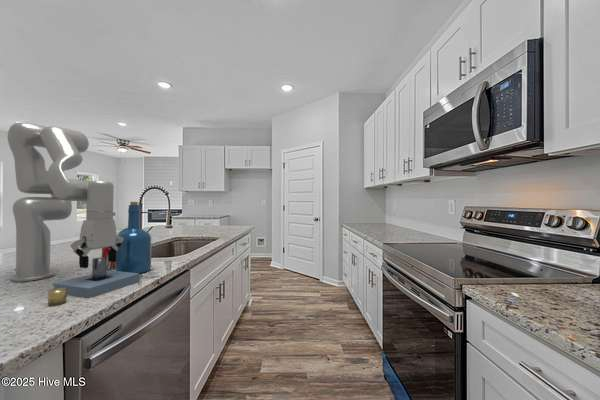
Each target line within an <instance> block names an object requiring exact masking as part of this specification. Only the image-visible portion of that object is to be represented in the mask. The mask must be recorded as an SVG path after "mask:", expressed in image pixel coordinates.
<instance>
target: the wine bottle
mask: <svg viewBox="0 0 600 400" xmlns="http://www.w3.org/2000/svg"><path fill="white" fill-rule="evenodd" d="M140 212H141V211H140V204H139V203H138V201H130V204H129V205H128V210H127V213H128V215H127V217H128V218H127V219H128V220H127V227H125V228H123V229H122V230H120V231H119V232H118V234H117V235H118V236H120V237H123V238H124V239H123V241H122V243H121V246H120V247H119V249H118V251H117V258H116V262H115V269H114V271H121V272H130V273H139V274H140V275H141V274H145V273H147V272H149V271H151V270H150V269H151V268H152V236H151V235H152V234H150V232H149V231H147V230H146V229H145V230H144V229H143V228H141V225H140V224H141V223H140V222H141V219H140ZM116 243H117V239H116ZM146 271H147V272H146Z"/></svg>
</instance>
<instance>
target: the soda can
mask: <svg viewBox="0 0 600 400" xmlns="http://www.w3.org/2000/svg"><path fill="white" fill-rule="evenodd" d="M109 250H110V249H109V248H108V247H106V248H101V257H106V258H107V270H111V269H113V270H115V262H110V261H108V252H109ZM107 270H106V271H107Z"/></svg>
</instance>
